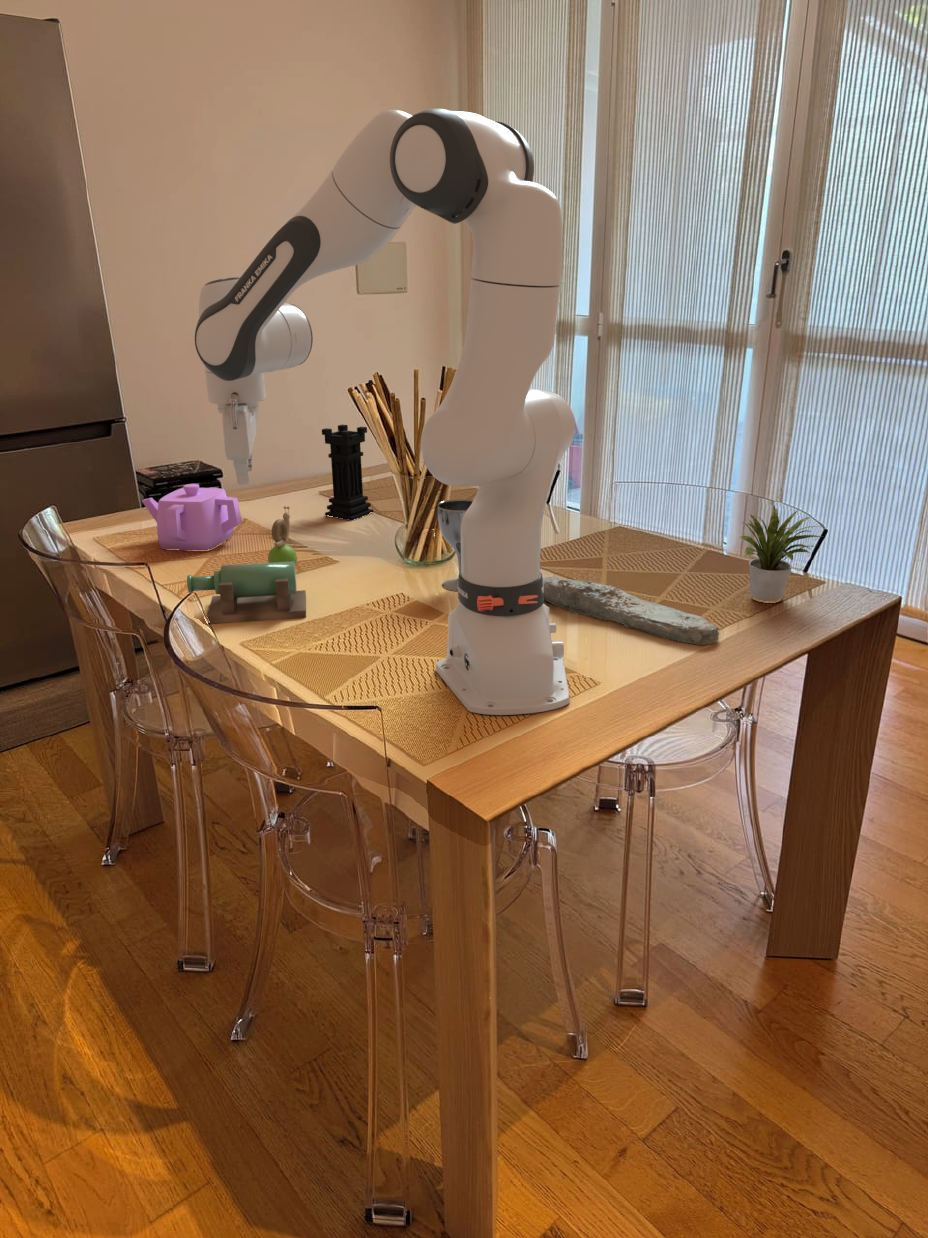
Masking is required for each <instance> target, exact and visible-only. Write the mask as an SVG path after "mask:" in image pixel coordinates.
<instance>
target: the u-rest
mask: <svg viewBox="0 0 928 1238" xmlns="http://www.w3.org/2000/svg"><path fill="white" fill-rule="evenodd" d="M275 584H276V594H277V595H275V596H259V597H244V598H234V594H233V585H232V582H225V583H220V584H219V589H220V594H219V595H212V596H211V601H210V604H209V607H208V611H207V614H206V618H207V617H208V619H209V621H210V624H209V625H212V624H228V623H241V622H254V621H255V622H256V621H268V620H269V621H270V620H286V619H299V618H300V619H301V618H307V593H306V590H304V589H302V590H297V594H291V595H289V586H288V579H276V580H275Z"/></svg>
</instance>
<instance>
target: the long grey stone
mask: <svg viewBox="0 0 928 1238" xmlns="http://www.w3.org/2000/svg"><path fill="white" fill-rule="evenodd" d="M542 578H543V584H544V592H543V593H544V601H546V602H548V603H550V604H552V605H553V606H555V607H559V608H562V609H566V610H567V611H569V613H570V614H578V615H580V616H583V615H585V616H589V617H592V618H594V619H599V620H600V619H601V620H602V621H614V622H616V623H617V624H623V626H624V627H626V628H629V629H630V628H633V629H638V630H640V631H644V632H647V633H649V634H651V635H653V636H657V637H659V638H663V639H666V640H668V641H674V642H681V643H683V644H684V643H687V644H691V645H698V646H707V645H708V646H709V645H712V644H715V643H717V641H718V640H719V637H720V632H719V628H718V627H717V626H716V624H714V623H712V622H710V621H709V620H708V619H707V618H704V617H702V616H700V615H696V614H693V613H688V612H685V611H682V610H680V609H677V608H674V607H670V606H667V605H663V604H660V603H655V602H653V601H648V600H644V599H641V598H639V597H637V595H632V594H629V593H627V592H626V591H624V590H623V589H620V588H619V587H617V586H613V585H607V584H602V583H597V582H593V581H592V580H588V581H583V580H577V579H568V578H562V577H561V578H560V577H556V576H544V577H543V576H542Z"/></svg>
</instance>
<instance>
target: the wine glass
mask: <svg viewBox="0 0 928 1238" xmlns="http://www.w3.org/2000/svg"><path fill="white" fill-rule="evenodd" d="M473 500H474V499H467V498H466V499H465V498H459V499H458V498H456V499H448V500H447V499H446V500H443V501H440V502H439V503H437V519H438V525H439V529H440V534H441V535H442V537H443V539H444V540H445V541H446V543H448V545H450V547H452V549H453V550H454V552H455V554H456V557H457V563H458V574H459V573H460V572H461V522H462V519H463V516H464V514H465V512H466V511H467V509H468V508H469V507H470V505H471V504H472V502H473ZM457 583H458V577H457V578H456V577H455V578H450V579H449V578H448V579H447V580H444V581H443V582H442V583H441V587H442V588H443V589H444V590H448V591H451V592H458V589H457Z"/></svg>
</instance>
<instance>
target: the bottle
mask: <svg viewBox="0 0 928 1238" xmlns="http://www.w3.org/2000/svg"><path fill="white" fill-rule="evenodd" d="M296 575H297V573H296V565H295V563H294V561H290V562H273V563H269V562H260V563H259V562H258V563H257V562H256V563H245V564H244V563H243V564H241V563H240V564H225V565H221V566H220V570H214V571H213V575H198V576H193V575H192V574H189V575H187V577H186V584H187V587H186V588H187V591H188V593H189V594H194V592H201V591H214V592H215V594H216V595H220V589H219V584H220V583H225V582H232V585H233V594H234V598H244V597H259V596H275V595H277V594H276V584H275V580H276V579H288V586H289V595H291V594H297V591H298V590H297V576H296Z"/></svg>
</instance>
